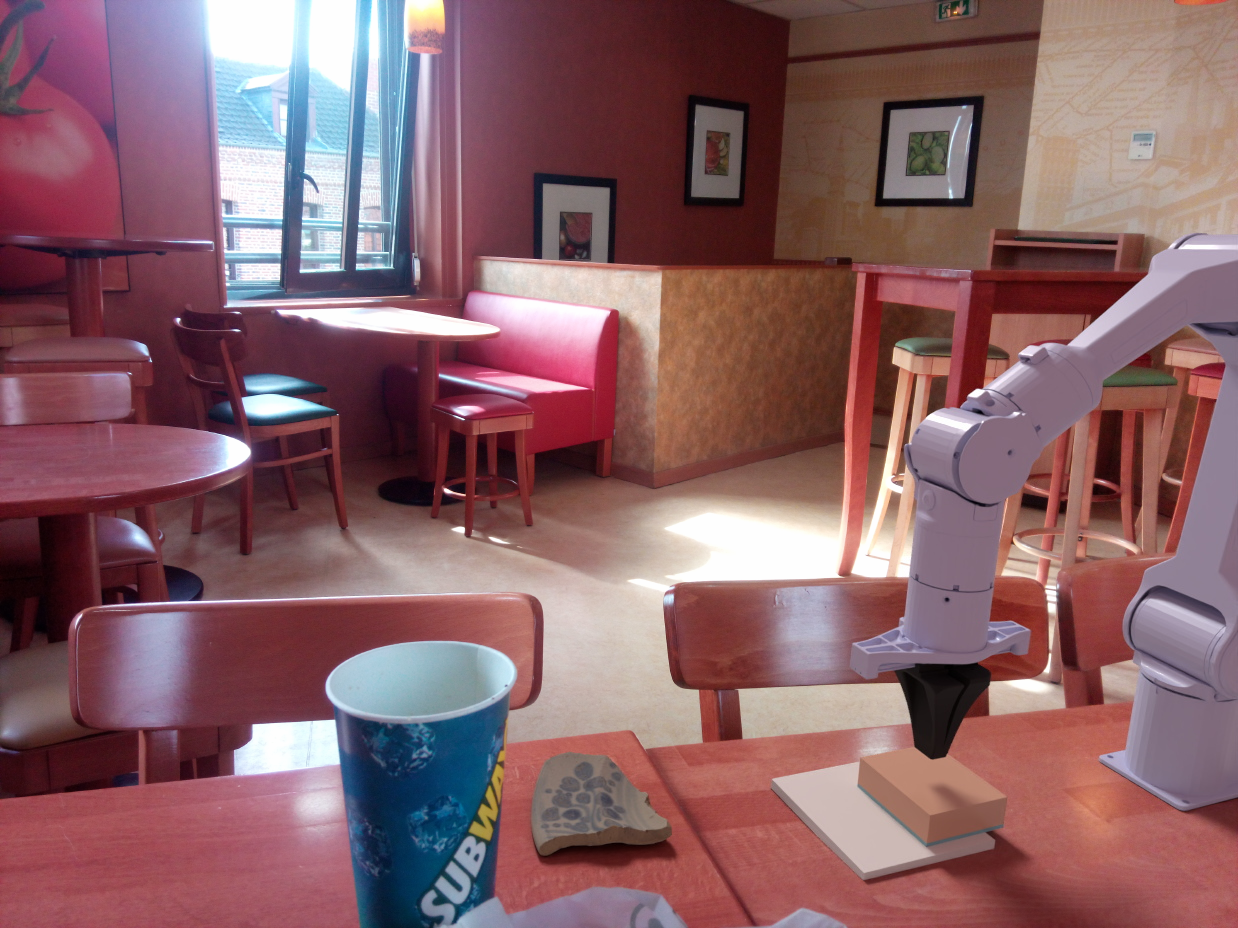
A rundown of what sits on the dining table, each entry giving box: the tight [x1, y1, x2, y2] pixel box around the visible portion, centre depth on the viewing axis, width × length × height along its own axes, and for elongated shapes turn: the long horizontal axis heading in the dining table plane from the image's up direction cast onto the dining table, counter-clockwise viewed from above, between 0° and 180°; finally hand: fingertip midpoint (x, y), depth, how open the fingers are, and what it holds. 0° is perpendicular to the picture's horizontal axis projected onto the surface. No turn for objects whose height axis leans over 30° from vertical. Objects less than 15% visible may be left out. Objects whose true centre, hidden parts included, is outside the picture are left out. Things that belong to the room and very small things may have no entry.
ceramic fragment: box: [530, 751, 673, 857], centre depth 68 cm, size 11×3×10 cm
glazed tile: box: [857, 746, 1008, 847], centre depth 69 cm, size 2×8×7 cm
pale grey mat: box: [770, 761, 996, 881], centre depth 69 cm, size 11×12×1 cm
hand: (929, 751), depth 69 cm, fingers closed
